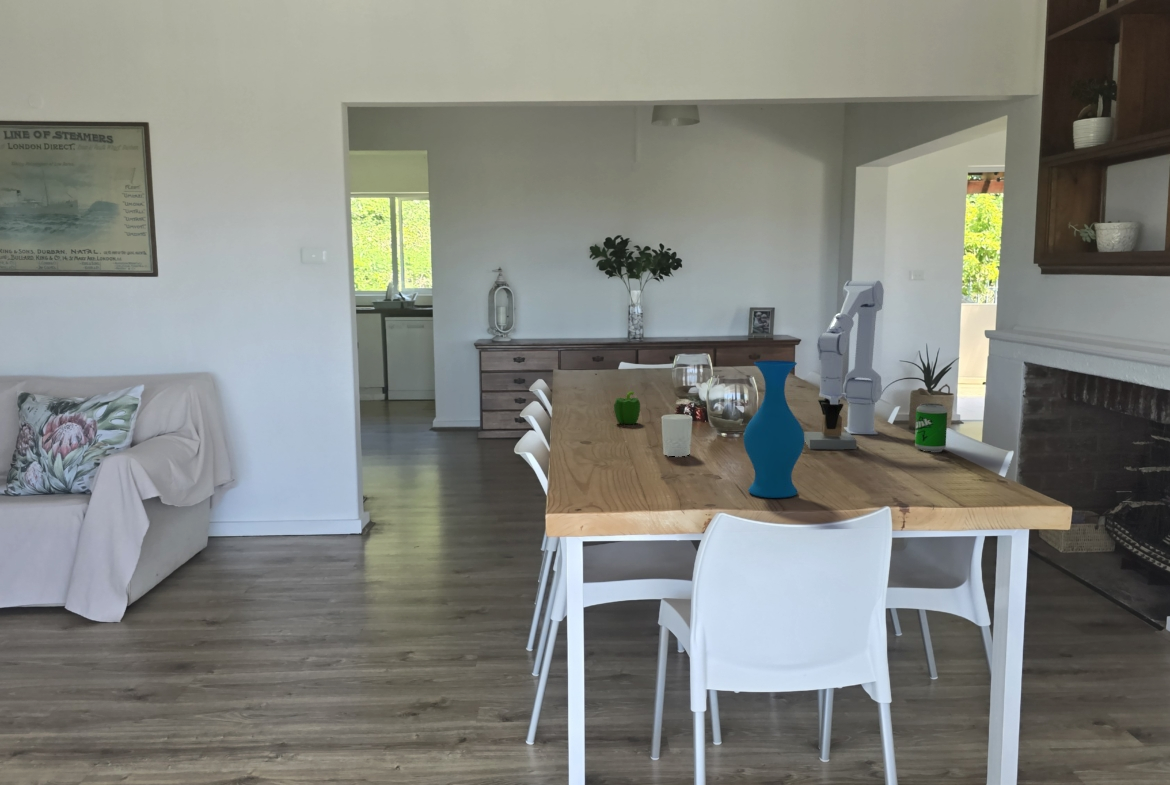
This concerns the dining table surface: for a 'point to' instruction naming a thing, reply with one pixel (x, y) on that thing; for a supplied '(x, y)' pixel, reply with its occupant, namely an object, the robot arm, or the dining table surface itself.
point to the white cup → (676, 434)
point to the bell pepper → (627, 409)
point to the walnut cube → (832, 431)
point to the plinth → (829, 441)
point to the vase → (774, 436)
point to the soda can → (931, 427)
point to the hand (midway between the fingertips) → (829, 427)
